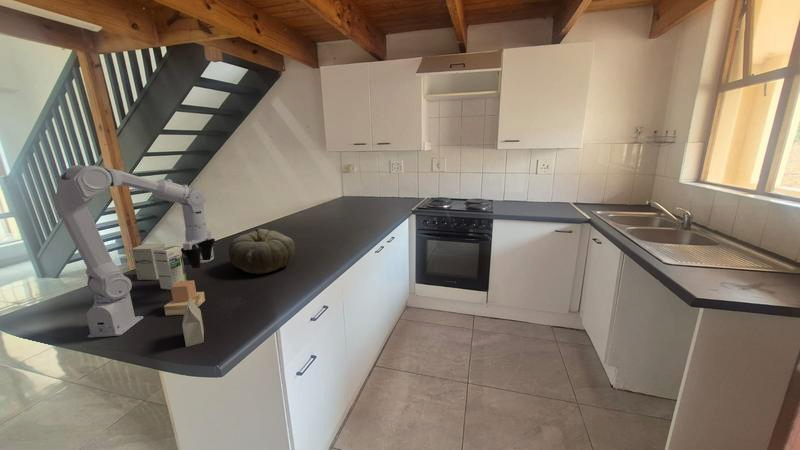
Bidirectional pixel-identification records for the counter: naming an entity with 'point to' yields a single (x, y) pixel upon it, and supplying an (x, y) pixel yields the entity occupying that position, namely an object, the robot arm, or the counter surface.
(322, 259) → the counter surface
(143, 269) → the supplement box
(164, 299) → the counter surface
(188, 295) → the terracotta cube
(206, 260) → the supplement tub
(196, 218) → the robot arm
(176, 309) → the beech block
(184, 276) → the syrup box
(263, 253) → the gourd
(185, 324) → the tea bag
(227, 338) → the counter surface
